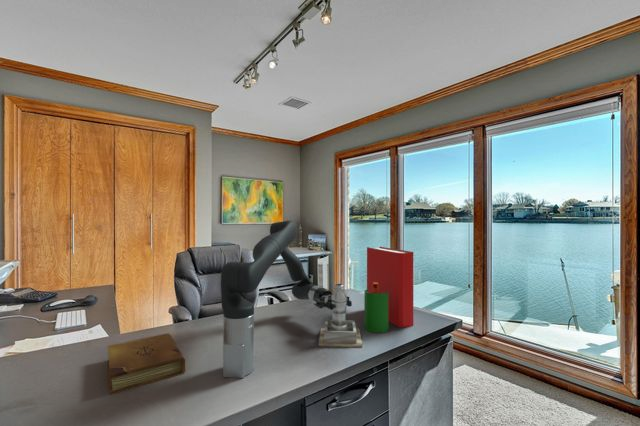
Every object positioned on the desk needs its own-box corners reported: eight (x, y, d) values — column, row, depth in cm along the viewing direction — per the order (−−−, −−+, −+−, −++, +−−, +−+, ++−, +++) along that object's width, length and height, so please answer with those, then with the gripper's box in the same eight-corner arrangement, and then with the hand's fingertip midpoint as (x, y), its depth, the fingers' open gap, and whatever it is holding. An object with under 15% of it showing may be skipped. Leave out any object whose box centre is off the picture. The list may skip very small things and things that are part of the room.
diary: (185, 375, 92) (185, 356, 92) (109, 397, 81) (110, 375, 81) (170, 348, 110) (170, 332, 110) (107, 362, 99) (108, 344, 99)
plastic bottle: (334, 340, 115) (333, 287, 115) (329, 333, 121) (328, 283, 122) (350, 338, 116) (349, 285, 117) (344, 331, 123) (343, 282, 123)
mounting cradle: (362, 347, 110) (362, 334, 110) (318, 346, 111) (318, 333, 111) (359, 330, 126) (359, 319, 126) (320, 329, 127) (321, 318, 127)
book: (366, 309, 155) (366, 247, 156) (379, 307, 158) (380, 246, 159) (400, 327, 130) (400, 253, 130) (415, 325, 133) (415, 252, 134)
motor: (387, 325, 133) (387, 279, 133) (390, 333, 124) (390, 284, 124) (364, 324, 134) (364, 279, 134) (365, 332, 125) (365, 283, 125)
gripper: (306, 289, 128) (326, 298, 114) (334, 285, 135) (356, 293, 122) (305, 307, 128) (326, 318, 114) (333, 302, 135) (356, 312, 121)
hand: (342, 305), depth 118 cm, fingers open, 8 cm apart
